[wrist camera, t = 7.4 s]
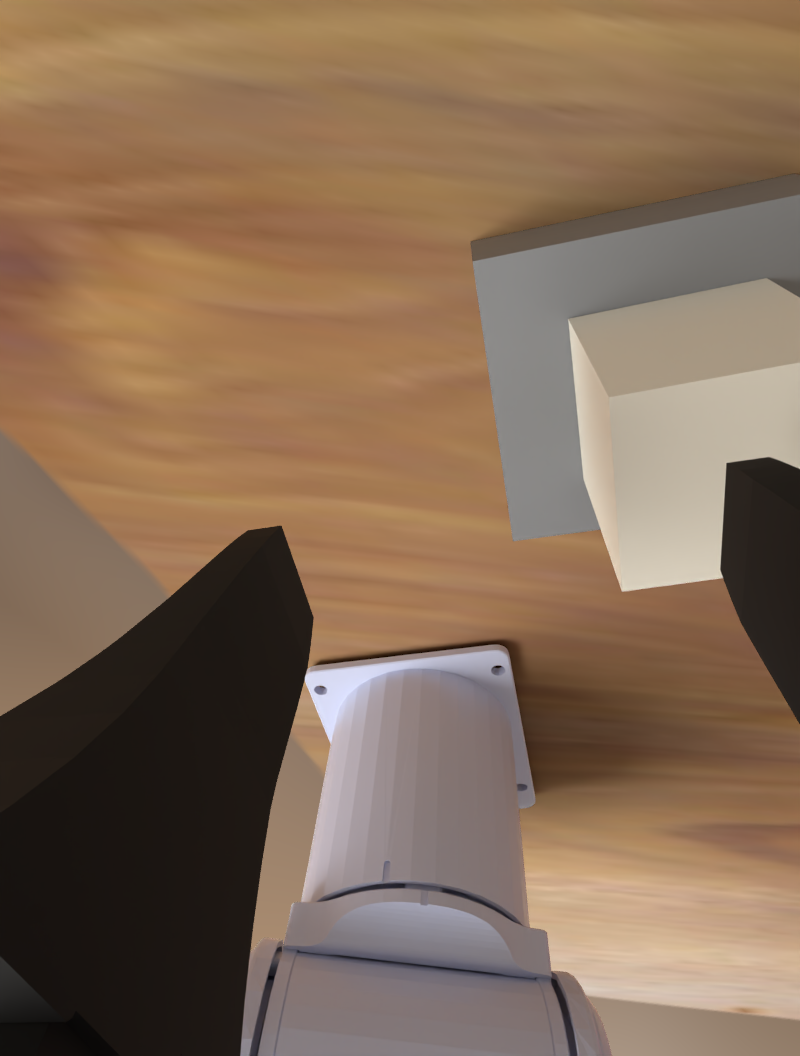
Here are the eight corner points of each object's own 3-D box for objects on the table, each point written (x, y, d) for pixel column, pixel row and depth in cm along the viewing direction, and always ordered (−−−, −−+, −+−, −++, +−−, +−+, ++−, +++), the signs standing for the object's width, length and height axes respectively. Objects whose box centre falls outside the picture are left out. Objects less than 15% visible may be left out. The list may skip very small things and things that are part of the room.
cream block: (756, 450, 18) (850, 561, 14) (583, 478, 19) (621, 591, 14) (766, 277, 15) (883, 346, 11) (568, 318, 16) (609, 397, 12)
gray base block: (762, 453, 21) (804, 502, 19) (506, 490, 22) (513, 541, 20) (785, 171, 17) (843, 185, 14) (470, 238, 18) (472, 261, 16)
